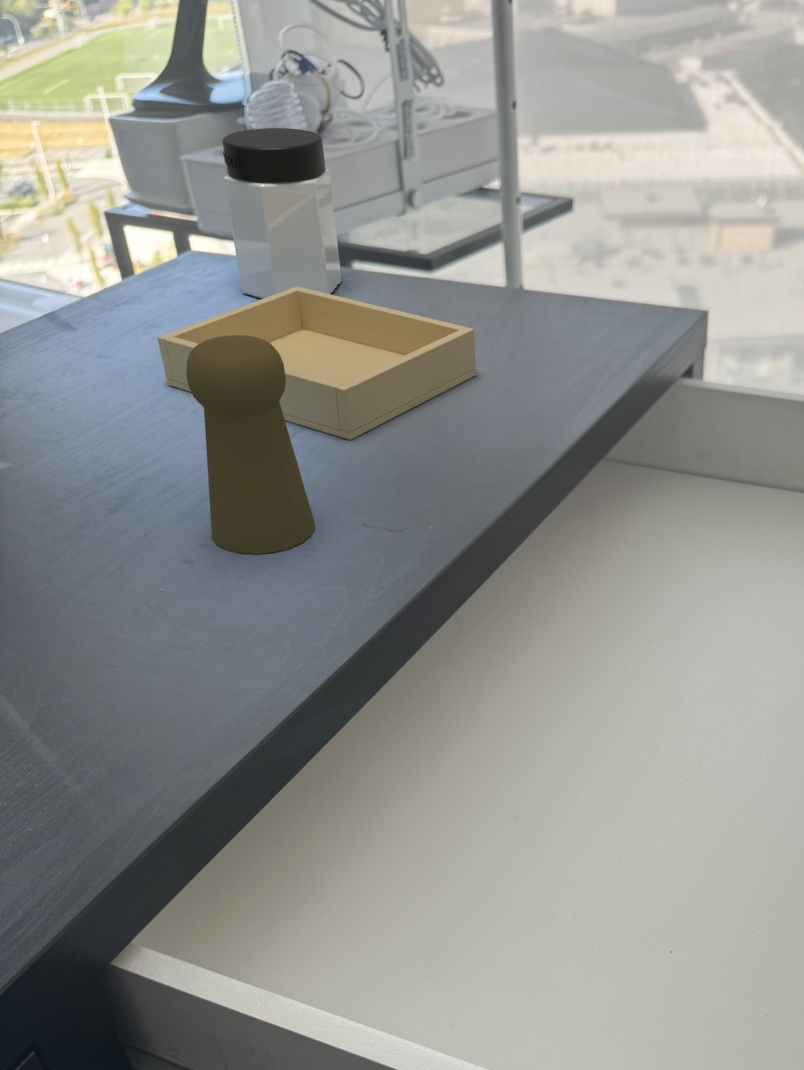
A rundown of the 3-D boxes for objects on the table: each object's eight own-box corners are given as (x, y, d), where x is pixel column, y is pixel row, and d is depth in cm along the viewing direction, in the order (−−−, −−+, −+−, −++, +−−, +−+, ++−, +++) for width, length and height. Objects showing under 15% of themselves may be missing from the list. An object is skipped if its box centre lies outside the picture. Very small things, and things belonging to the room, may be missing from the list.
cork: (192, 526, 69) (152, 338, 62) (282, 497, 73) (253, 315, 65) (242, 564, 66) (205, 371, 59) (334, 532, 69) (309, 345, 62)
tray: (167, 385, 86) (157, 337, 84) (302, 330, 96) (296, 285, 94) (350, 440, 79) (344, 389, 77) (476, 375, 89) (474, 328, 87)
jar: (262, 271, 108) (240, 124, 100) (349, 275, 107) (334, 128, 100) (231, 301, 101) (205, 147, 93) (324, 306, 100) (305, 151, 93)
